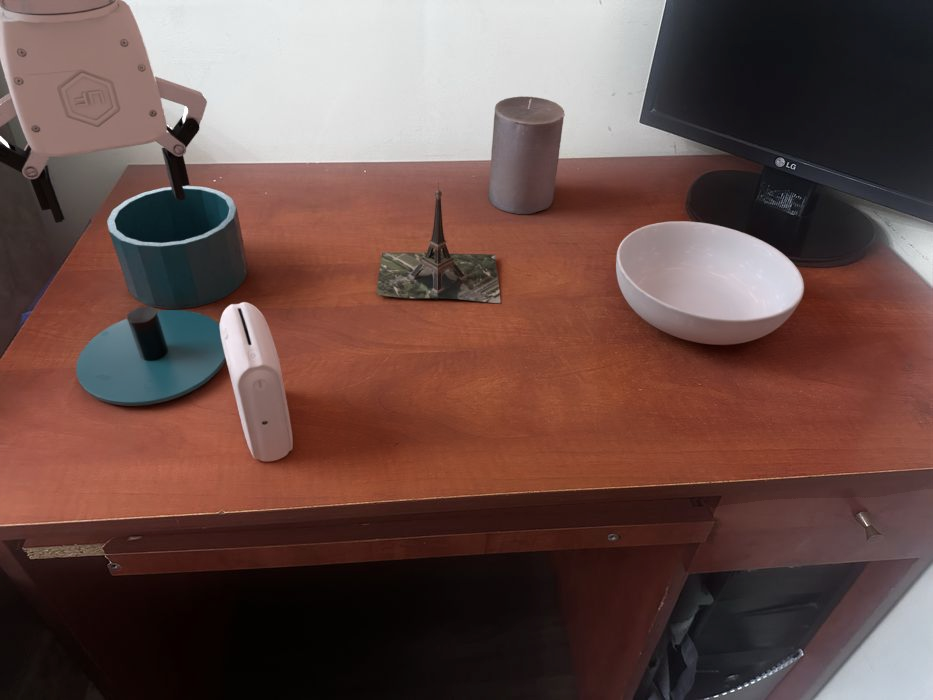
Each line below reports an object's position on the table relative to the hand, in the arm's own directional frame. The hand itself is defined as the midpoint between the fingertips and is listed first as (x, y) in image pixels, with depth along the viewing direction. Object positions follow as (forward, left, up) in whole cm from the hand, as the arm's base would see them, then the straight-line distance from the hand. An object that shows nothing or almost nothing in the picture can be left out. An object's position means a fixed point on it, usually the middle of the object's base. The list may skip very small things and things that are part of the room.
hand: (120, 204), depth 61 cm
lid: (-1, +3, -19) cm, 19 cm away
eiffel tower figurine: (+33, +5, -20) cm, 38 cm away
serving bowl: (+58, -14, -20) cm, 63 cm away
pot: (+5, +18, -20) cm, 27 cm away
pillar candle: (+53, +19, -20) cm, 59 cm away
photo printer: (+7, -11, -20) cm, 24 cm away
